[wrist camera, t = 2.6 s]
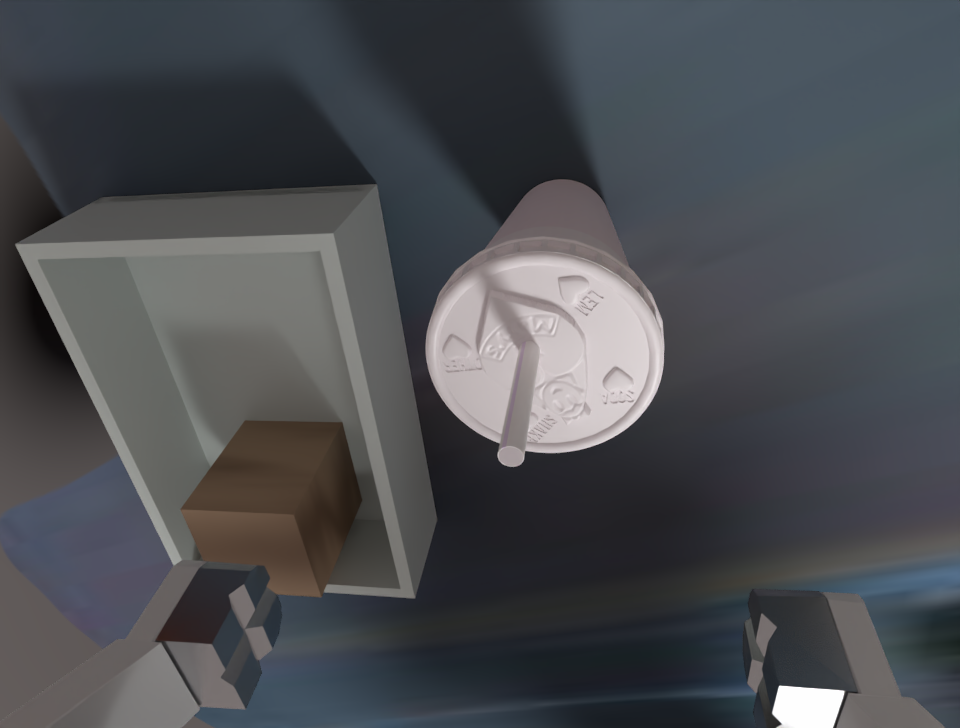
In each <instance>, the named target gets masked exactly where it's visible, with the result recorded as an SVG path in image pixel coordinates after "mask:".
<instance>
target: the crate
mask: <svg viewBox="0 0 960 728" xmlns="http://www.w3.org/2000/svg"><path fill="white" fill-rule="evenodd" d="M15 245H16V247H17V249H18V251H19V253H20V255H21V257H22V259H23V261H24V263H25V265H26V268H27V270H28V271H29V274H30V275H31V277H32V280H33V282H34V283H35V286H36V288H37V290H38V292H39V294H40V296H41V298H42V300H43V302H44V304H45V306H46V308H47V310H48V312H49V314H50V316H51V318H52V320H53V322H54V324H55V326H56V328H57V330H58V332H59V334H60V336H61V338H62V340H63V342H64V344H65V346H66V348H67V350H68V352H69V354H70V356H71V358H72V360H73V363H74V365H75V367H76V368H77V371H78V373H79V375H80V377H81V379H82V381H83V383H84V385H85V387H86V389H87V391H88V393H89V395H90V397H91V399H92V401H93V403H94V405H95V407H96V409H97V411H98V413H99V415H100V417H101V419H102V421H103V423H104V425H105V427H106V429H107V431H108V433H109V435H110V437H111V439H112V441H113V443H114V445H115V447H116V449H117V451H118V454H119V456H120V458H121V460H122V462H123V464H124V466H125V468H126V470H127V472H128V474H129V476H130V478H131V480H132V482H133V484H134V486H135V488H136V490H137V492H138V494H139V496H140V498H141V500H142V502H143V504H144V506H145V508H146V510H147V512H148V514H149V516H150V518H151V520H152V522H153V524H154V526H155V528H156V530H157V532H158V534H159V536H160V538H161V540H162V542H163V544H164V547H165V549H166V551H167V553H168V555H169V557H170V559H171V561H172V563H173V565H176V564H177V563H178V562H180V561H181V560H195V561H204V560H203V558H202V556H201V554H200V552H199V549H198V547H197V545H196V543H195V541H194V539H193V536H192V534H191V532H190V530H189V528H188V525H187V523H186V521H185V519H184V517H183V514H182V512H181V510H180V509H181V508H182V506H183V505H184V503H185V502H186V501H187V499H188V498H189V497H190V495H191V494H192V492H193V491H194V490H195V488H196V487H197V486H198V484H199V483H200V481H201V480H202V479H203V477H204V476H205V475H206V473H207V472H208V470H209V469H210V468H211V466H212V465H213V464H214V462H215V461H216V459H217V458H218V457H219V455H220V454H221V453H222V451H223V450H224V448H225V447H226V446H227V444H228V443H229V442H230V440H231V439H232V437H233V436H234V435H235V433H236V432H237V431H238V429H239V428H240V426H241V425H242V424H243V422H244V421H245V420H248V421H299V422H342V423H343V427H344V431H345V434H346V438H347V442H348V446H349V450H350V454H351V458H352V462H353V466H354V469H355V473H356V477H357V481H358V485H359V489H360V493H361V497H362V502H361V505H360V507H359V509H358V512H357V514H356V517H355V519H354V521H353V524H352V526H351V528H350V531H349V533H348V535H347V538H346V540H345V543H344V545H343V547H342V550H341V552H340V554H339V557H338V559H337V562H336V564H335V566H334V569H333V571H332V573H331V576H330V578H329V581H328V583H327V585H326V588H325V590H324V592H328V593H342V594H357V595H372V596H386V597H401V598H415V597H416V593H417V590H418V586H419V583H420V579H421V576H422V572H423V569H424V565H425V562H426V558H427V554H428V551H429V547H430V544H431V540H432V537H433V533H434V530H435V526H436V523H437V516H436V510H435V505H434V499H433V493H432V488H431V482H430V477H429V471H428V466H427V460H426V455H425V449H424V443H423V438H422V432H421V427H420V421H419V416H418V410H417V405H416V399H415V393H414V388H413V382H412V377H411V371H410V366H409V360H408V355H407V349H406V343H405V338H404V332H403V327H402V321H401V316H400V310H399V305H398V299H397V293H396V288H395V282H394V277H393V271H392V266H391V260H390V255H389V249H388V243H387V238H386V232H385V227H384V221H383V216H382V210H381V205H380V199H379V193H378V188H377V184H368V185H347V186H326V187H305V188H284V189H263V190H242V191H221V192H200V193H179V194H158V195H137V196H116V197H101V198H99V199H98V200H96V201H94V202H92V203H90V204H88V205H87V206H85V207H83V208H81V209H79V210H77V211H75V212H74V213H72V214H70V215H68V216H66V217H64V218H63V219H61V220H59V221H57V222H55V223H53V224H52V225H50V226H48V227H46V228H44V229H43V230H41V231H39V232H37V233H35V234H33V235H31V236H29V237H28V238H26V239H24V240H22V241H20V242H18V243H16V244H15Z"/></svg>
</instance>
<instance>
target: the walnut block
mask: <svg viewBox="0 0 960 728" xmlns="http://www.w3.org/2000/svg"><path fill="white" fill-rule="evenodd" d="M361 502H362V497H361V493H360V489H359V485H358V481H357V477H356V473H355V469H354V466H353V462H352V458H351V454H350V450H349V446H348V442H347V438H346V434H345V431H344V427H343V423H342V422H299V421H248V420H245V421H244V422H243V424H242V425H241V426H240V428H239V429H238V431H237V432H236V433H235V435H234V436H233V437H232V439H231V440H230V442H229V443H228V444H227V446H226V447H225V448H224V450H223V451H222V453H221V454H220V455H219V457H218V458H217V459H216V461H215V462H214V464H213V465H212V466H211V468H210V469H209V470H208V472H207V473H206V475H205V476H204V477H203V479H202V480H201V481H200V483H199V484H198V486H197V487H196V488H195V490H194V491H193V492H192V494H191V495H190V497H189V498H188V499H187V501H186V502H185V503H184V505H183V506H182V508H181V509H180V510H181V512H182V514H183V517H184V519H185V521H186V523H187V525H188V528H189V530H190V532H191V534H192V536H193V539H194V541H195V543H196V545H197V547H198V549H199V552H200V554H201V556H202V558H203V560H204V561H210V562H223V563H236V564H249V565H261V566H265V568H266V570H267V572H268V574H269V576H270V580H269V582H268V584H267V586H266V587H268V588H269V589H270V590H272V591H273V592H274V593H275V594H281V595H296V596H310V597H322V595H323V592H324V590H325V588H326V585H327V583H328V581H329V578H330V576H331V573H332V571H333V569H334V566H335V564H336V562H337V559H338V557H339V554H340V552H341V550H342V547H343V545H344V543H345V540H346V538H347V535H348V533H349V531H350V528H351V526H352V524H353V521H354V519H355V517H356V514H357V512H358V509H359V507H360V505H361Z"/></svg>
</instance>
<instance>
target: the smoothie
mask: <svg viewBox="0 0 960 728" xmlns="http://www.w3.org/2000/svg"><path fill="white" fill-rule="evenodd" d="M426 360H427V365H428V370H429V373H430V376H431V379H432V382H433V384H434V386H435V388H436V390H437V392H438V393H439V395H440V397H441V398H442V400H443V401H444V403H445V404H446V405H447V407H448V408H449V409H450V410H451V411H452V412H453V413H454V414H455V415H456V416H457V417H458V418H459V419H460V420H461V421H462V422H463V423H465V424H466V425H467V426H468V427H470V428H471V429H473V430H474V431H476V432H477V433H479V434H481V435H482V436H484V437H486V438H488V439H490V440H492V441H495V442H497V443H500V445H499V450H498V459H499V461H500V462H501V463H502V464H504V465H506V466H509V467H515V466H518V465H520V464H521V463H522V462H523V461H524V456H525V451H530V452H539V453H561V452H570V451H576V450H581V449H585V448H589V447H592V446H595V445H598V444H600V443H602V442H605V441H607V440H609V439H611V438H613V437H615V436H616V435H618V434H620V433H621V432H622V431H624V430H625V429H627V428H628V427H629V426H630V425H632V424H633V423H634V422H635V421H636V420H637V419H638V418H639V417H640V416H641V415H642V414H643V412H644V411H645V410H646V409H647V407H648V406H649V404H650V403H651V401H652V400H653V398H654V396H655V394H656V392H657V389H658V387H659V384H660V381H661V377H662V372H663V365H664V334H663V321H662V318H661V316H660V313H659V311H658V308H657V306H656V303H655V301H654V298H653V296H652V294H651V292H650V291H649V290H648V289H647V287H646V286H645V285H644V284H643V282H642V281H641V280H640V279H639V277H638V276H637V275H636V274H635V272H634V271H633V270H632V269H630V267H629V265H628V262H627V259H626V257H625V254H624V252H623V249H622V246H621V244H620V241H619V239H618V236H617V233H616V231H615V228H614V225H613V223H612V220H611V218H610V215H609V212H608V210H607V207H606V205H605V203H604V202H603V200H602V199H601V197H600V196H599V195H598V194H597V193H596V192H595V191H594V190H592V189H591V188H590V187H588V186H586V185H584V184H582V183H580V182H577V181H573V180H567V179H557V180H551V181H547V182H544V183H542V184H539V185H538V186H536V187H534V188H533V189H531V190H530V191H529V192H528V193H527V194H526V195H525V196H524V197H523V198H522V200H521V201H520V202H519V204H518V205H517V206H516V208H515V209H514V210H513V212H512V213H511V214H510V216H509V217H508V218H507V220H506V221H505V222H504V224H503V225H502V226H501V228H500V229H499V230H498V232H497V233H496V234H495V236H494V237H493V238H492V240H491V241H490V242H489V244H488V245H487V246H486V248H485V249H484V250H483V251H480V252H478V253H477V254H476V255H475V256H473V257H472V258H471V259H469V260H468V261H467V262H466V263H464V264H463V265H462V266H460V267H459V268H458V269H456V270H455V272H454V273H453V275H452V276H451V277H450V279H449V280H448V281H447V283H446V284H445V286H444V287H443V288H442V290H441V291H440V293H439V295H438V298H437V301H436V304H435V307H434V310H433V313H432V316H431V319H430V322H429V326H428V330H427V335H426Z"/></svg>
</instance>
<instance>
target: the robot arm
mask: <svg viewBox="0 0 960 728" xmlns="http://www.w3.org/2000/svg"><path fill="white" fill-rule="evenodd" d="M269 580H270V576H269V574H268V572H267V570H266V568H265V566H261V565H249V564H236V563H223V562H210V561H195V560H181V561H180V562H178V563H177V564H176V565H174V566H173V567H172V569H171V570H170V572H169V573H168V575H167V576H166V578H165V579H164V581H163V582H162V584H161V586H160V587H159V589H158V590H157V592H156V593H155V595H154V596H153V598H152V599H151V601H150V602H149V604H148V605H147V607H146V608H145V610H144V612H143V613H142V615H141V616H140V618H139V619H138V621H137V622H136V624H135V625H134V627H133V628H132V630H131V631H130V633H129V634H128V636H127V637H126V639H117V640H116V641H114V642H113V643H111V644H110V645H108V646H107V647H106V648H104V649H103V650H101V651H100V652H99V653H97V654H96V655H94V656H93V657H91V658H90V659H89V660H87V661H86V662H84V663H83V664H81V665H80V666H78V667H77V668H76V669H74V670H73V671H71V672H70V673H68V674H67V675H66V676H64V677H63V678H61V679H60V680H59V681H57V682H56V683H54V684H53V685H51V686H50V687H48V688H47V689H46V690H44V691H43V692H41V693H40V694H38V695H37V696H36V697H34V698H33V699H31V700H30V701H28V702H27V703H26V704H24V705H23V706H21V707H20V708H18V709H17V710H15V711H14V712H13V713H11V714H10V715H8V716H7V717H6V718H4V719H3V720H1V721H0V728H182V727H183V726H184V725H185V724H186V723H187V722H188V721H189V720H190V719H191V718H192V717H193V716H194V715H195V714H196V713H197V712H198V711H199V710H200V708H199V707H215V708H232V709H246V708H247V705H248V703H249V701H250V699H251V696H252V694H253V692H254V690H255V687H256V685H257V683H258V681H259V678H260V676H261V674H262V671H261V666H260V662H259V660H260V659H261V658H262V657H263V656H265V655H266V654H267V653H268V652H269V651H271V650H272V649H273V647H274V644H275V642H276V639H277V637H278V635H279V630H280V624H281V619H282V612H281V604H280V601H279V598H278V596H277V594H275V593H274V592H273V591H272V590H270V589H269V588H268V587H266V586H267V584H268V582H269ZM748 607H749V612H750V617H751V618H750V619H748V620H747V621H745V622H744V630H743V660H744V668H745V674H746V679H747V684H748V685H749V686H750V687H751V688H752V689H753V691H754V692H755V693H756V699H755V704H754V709H753V715H754V720H755V725H756V728H945V727H944V726H943V725H942V724H941V723H940V722H939V721H938V720H937V719H935V718H934V717H933V716H932V715H931V714H930V713H929V712H928V711H927V710H926V709H925V708H923V707H922V706H921V705H920V704H919V703H918V702H917V701H916V700H915V699H914V698H909V697H902V696H901V694H900V691H899V689H898V686H897V684H896V681H895V679H894V676H893V674H892V671H891V668H890V666H889V663H888V661H887V658H886V656H885V653H884V651H883V648H882V646H881V643H880V641H879V638H878V636H877V633H876V631H875V628H874V626H873V623H872V621H871V618H870V616H869V613H868V611H867V608H866V606H865V603H864V601H863V599H862V598H861V597H860V596H859V595H858V594H850V593H827V592H821V593H820V592H819V591H798V590H770V589H752V591H751V592H750V595H749V601H748Z"/></svg>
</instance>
